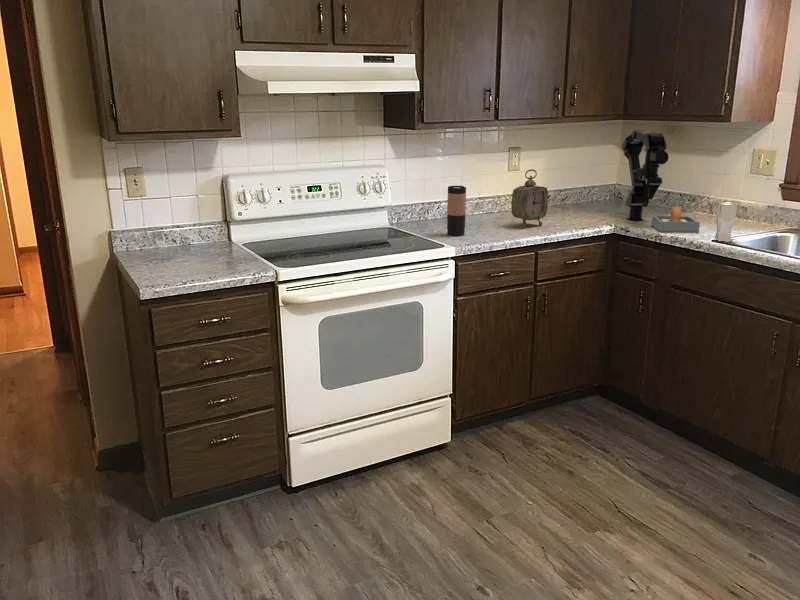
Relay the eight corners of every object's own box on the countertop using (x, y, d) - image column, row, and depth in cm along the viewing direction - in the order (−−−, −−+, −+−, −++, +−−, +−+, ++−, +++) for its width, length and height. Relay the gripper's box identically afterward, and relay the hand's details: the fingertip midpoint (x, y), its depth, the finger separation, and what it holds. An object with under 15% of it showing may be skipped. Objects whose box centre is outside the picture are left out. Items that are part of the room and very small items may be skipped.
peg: (668, 227, 300) (670, 206, 297) (677, 227, 299) (680, 206, 296) (670, 228, 296) (673, 208, 293) (680, 229, 295) (682, 208, 293)
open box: (651, 225, 306) (652, 215, 304) (688, 226, 304) (689, 216, 302) (659, 232, 291) (660, 221, 290) (698, 233, 289) (699, 222, 288)
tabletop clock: (523, 229, 298) (526, 171, 290) (508, 226, 305) (511, 169, 297) (546, 225, 306) (549, 169, 298) (531, 222, 313) (534, 167, 305)
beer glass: (712, 241, 273) (717, 204, 269) (713, 238, 279) (718, 201, 275) (731, 243, 270) (737, 205, 266) (732, 239, 276) (737, 202, 272)
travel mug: (443, 235, 286) (444, 187, 280) (452, 232, 292) (453, 185, 286) (459, 237, 282) (460, 188, 276) (468, 234, 288) (469, 186, 282)
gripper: (628, 160, 310) (625, 194, 315) (637, 164, 293) (633, 200, 297) (654, 160, 309) (650, 194, 314) (664, 164, 291) (660, 201, 296)
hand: (648, 197), depth 305 cm, fingers open, 9 cm apart
